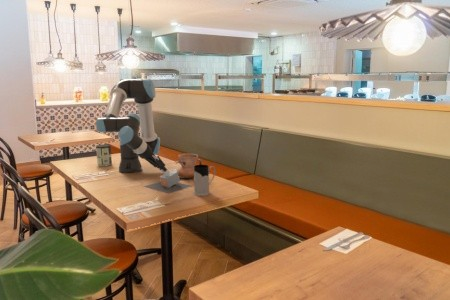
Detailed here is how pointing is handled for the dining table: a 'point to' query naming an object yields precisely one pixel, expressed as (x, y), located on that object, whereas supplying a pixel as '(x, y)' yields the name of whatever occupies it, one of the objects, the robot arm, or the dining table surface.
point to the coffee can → (103, 155)
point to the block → (169, 179)
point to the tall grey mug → (202, 180)
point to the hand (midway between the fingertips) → (167, 173)
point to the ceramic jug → (187, 165)
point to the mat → (167, 190)
